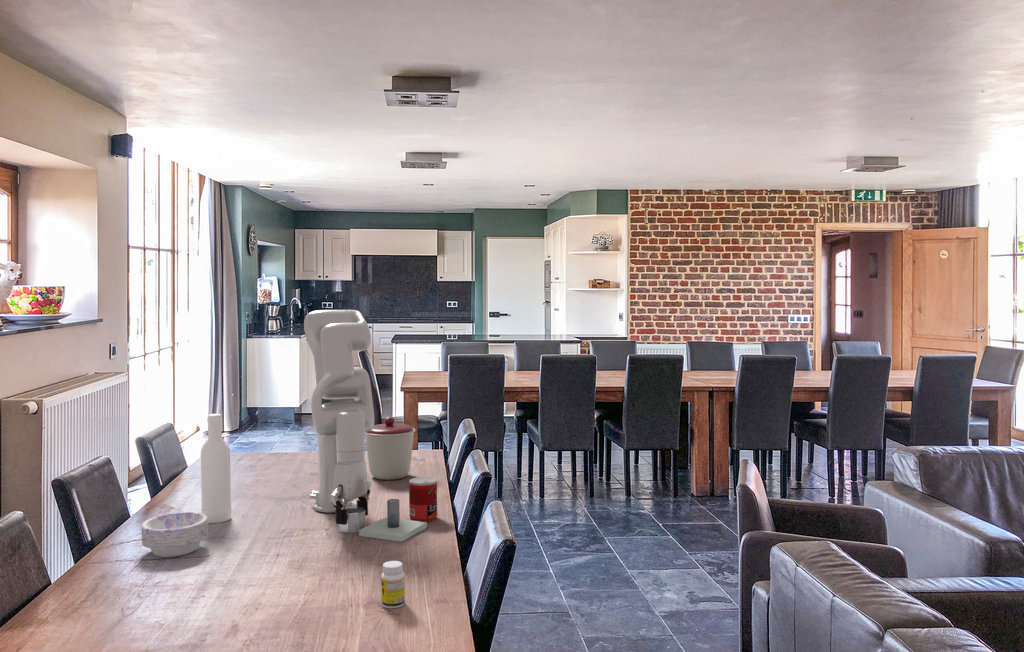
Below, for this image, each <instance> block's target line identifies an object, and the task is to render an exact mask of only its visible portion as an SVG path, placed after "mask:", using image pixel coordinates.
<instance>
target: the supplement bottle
mask: <svg viewBox="0 0 1024 652" xmlns="http://www.w3.org/2000/svg"><path fill="white" fill-rule="evenodd" d="M403 570H404V568H403V562H401V561H399V560H389V561H385V562H384V563H383V564H382V573H381V576H380V579H381V605H382V607H383V608H386V609H399V608H402V607H403V606H404V605H405V603H406V596H405V595H406V593H405V592H406V591H405V589H406V588H405V587H406V586H405V585H406V584H405V580H406V579H405V572H403Z"/></svg>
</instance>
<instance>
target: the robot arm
mask: <svg viewBox="0 0 1024 652" xmlns="http://www.w3.org/2000/svg"><path fill="white" fill-rule="evenodd" d="M303 327H304V334H305V338H306V342H307V344H308V346H309V349H310V351H311V353H312V356H313V362H314V371H315V372H314V374H315V382H316V385H315V387H314V389H313V392H312V395H311V400H310V401H311V403H310V405H311V417H312V419H311V420H312V426H313V430H314V432H315V433H316V436H317V437H316V438H317V452H318V453H317V454H318V455H317V457H318V462H317V463H318V490H312V491H311V492H310V494H309V499H311V500H315V503H314V504H313V509H314V510H315V511H317V512H320V513H335V524H336V525H338V524H342V525H346V524H347V509H345V508H348V507H360V508H364V509H365V517H367V516H368V515H369V502H368V501H369V499H370V497H369V496H370V493H371V488H372V482H371V481H369V480H368V471H367V464H366V437H365V432H367V431H369V430H371V429H372V428H373V426H374V425H375V410H374V401H373V393H372V385H371V378H370V374H369V373H368V371H367V370H366V369H365V368H364V367H360V366H359V367H358V366H354V358H353V352H357V351H358V352H359V351H367V350H368V349H369V348H370V346H371V343H372V341H371V340H372V336H371V335H372V334H371V330H370V326H369V324H368V323H367V321H366V319H365V317H364V315H363V314H362V312H361V311H359V310H357V309H318V310H313V311H310V312H308V313H307V314H306V315H305V317H304V320H303ZM323 399H324V400H344V399H345V400H346V399H352V400H351V401H332V402H331V401H330V402H324V403H322V402H323ZM353 399H354V400H353ZM356 499H358V500H356Z"/></svg>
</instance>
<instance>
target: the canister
mask: <svg viewBox="0 0 1024 652" xmlns="http://www.w3.org/2000/svg"><path fill="white" fill-rule="evenodd" d="M383 422H384V423H381V424H380V423H379V424H374V426H373V428H372V429H371V430H369V431H367V432H365V447H366V452H367V461H368V467H369V468H368V469H369V472H370V475H371V476H372V477H373V478H375V479H377V480H382V481H393V480H400V479H402V478H405V477H407V476H408V475H409V473H410V469H411V464H412V463H411V461H412V454H413V445H414V433H416V429H415V428H414V427H413V426H411V425H410V424H405V423H397V422H396V423H395V419H394V417H392V416H387V417H385V418H384V421H383Z"/></svg>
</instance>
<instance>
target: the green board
mask: <svg viewBox="0 0 1024 652" xmlns="http://www.w3.org/2000/svg"><path fill="white" fill-rule="evenodd" d="M427 526H428V522H420V521H413V520H411V519H403V518H400V526H399V527H397V528H389V527H388V523H387V517H386V516H385V517H383V518H381V519H379V520H377V521H375V522H373V523H371V524H369V525H368V526H367V525H366V527H365V528H363V529H361V530H359V532H358V534H359V537H365V538H372V539H380V540H388V541H393V542H399V543H400V542H404V541H406V540H407V539H409V538H411V537H413V536H415V535H416V534H418V533H420V532H423V530H426V529H427Z"/></svg>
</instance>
